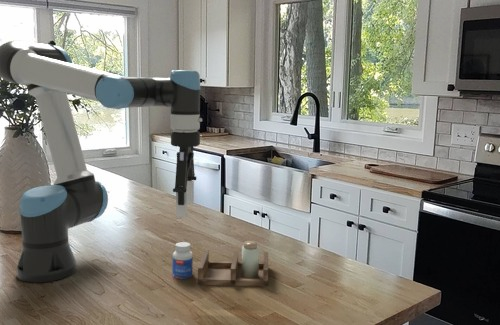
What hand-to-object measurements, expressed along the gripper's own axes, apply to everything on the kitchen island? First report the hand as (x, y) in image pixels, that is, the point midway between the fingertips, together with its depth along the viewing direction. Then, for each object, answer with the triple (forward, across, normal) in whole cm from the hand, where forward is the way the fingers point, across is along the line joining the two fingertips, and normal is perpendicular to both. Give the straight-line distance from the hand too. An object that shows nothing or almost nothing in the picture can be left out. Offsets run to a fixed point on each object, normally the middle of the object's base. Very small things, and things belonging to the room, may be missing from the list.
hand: (185, 210), depth 129 cm
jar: (+18, -1, -18) cm, 25 cm away
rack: (+19, -1, -14) cm, 23 cm away
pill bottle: (+19, -1, 0) cm, 19 cm away
